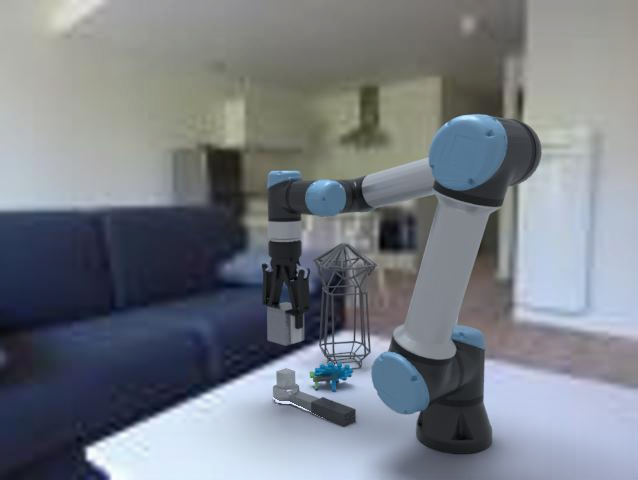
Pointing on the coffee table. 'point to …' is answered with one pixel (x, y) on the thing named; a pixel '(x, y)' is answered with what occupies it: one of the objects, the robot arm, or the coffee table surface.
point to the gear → (331, 374)
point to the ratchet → (311, 400)
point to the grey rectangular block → (280, 323)
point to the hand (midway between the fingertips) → (286, 338)
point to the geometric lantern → (367, 266)
